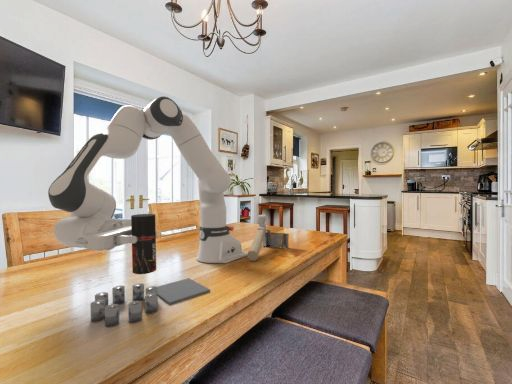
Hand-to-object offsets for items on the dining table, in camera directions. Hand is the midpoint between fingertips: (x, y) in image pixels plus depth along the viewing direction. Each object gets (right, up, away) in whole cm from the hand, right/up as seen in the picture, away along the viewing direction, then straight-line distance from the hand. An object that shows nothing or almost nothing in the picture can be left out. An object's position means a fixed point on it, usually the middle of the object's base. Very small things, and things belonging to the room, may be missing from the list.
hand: (146, 236), depth 72 cm
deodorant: (-1, -9, +1) cm, 10 cm away
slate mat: (+6, -18, +10) cm, 22 cm away
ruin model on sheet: (+40, -17, +65) cm, 78 cm away
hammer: (+30, -17, +54) cm, 64 cm away
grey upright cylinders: (-4, -19, -3) cm, 19 cm away
